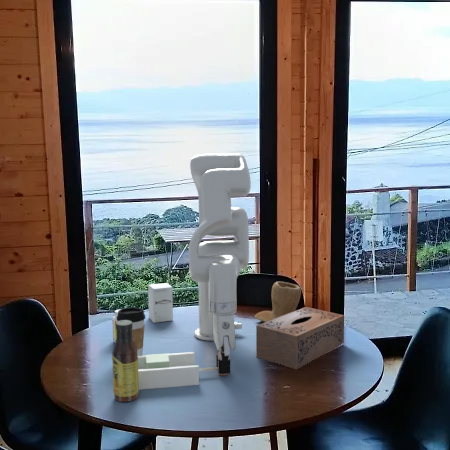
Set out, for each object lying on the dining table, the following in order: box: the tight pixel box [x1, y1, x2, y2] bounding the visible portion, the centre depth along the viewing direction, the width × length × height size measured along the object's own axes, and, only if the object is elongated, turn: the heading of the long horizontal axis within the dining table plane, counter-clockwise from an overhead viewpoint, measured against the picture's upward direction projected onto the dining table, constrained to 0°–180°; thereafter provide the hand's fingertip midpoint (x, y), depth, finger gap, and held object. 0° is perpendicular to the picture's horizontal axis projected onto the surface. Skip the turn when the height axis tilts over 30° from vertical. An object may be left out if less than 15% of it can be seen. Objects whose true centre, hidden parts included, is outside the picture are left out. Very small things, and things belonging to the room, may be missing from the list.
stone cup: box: [254, 281, 302, 323], centre depth 201 cm, size 15×12×15 cm
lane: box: [138, 351, 200, 391], centre depth 155 cm, size 18×11×6 cm, turn 100°
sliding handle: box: [145, 351, 228, 376], centre depth 156 cm, size 22×6×6 cm, turn 100°
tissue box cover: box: [255, 306, 345, 370], centre depth 175 cm, size 26×14×10 cm, turn 138°
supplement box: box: [147, 282, 174, 324], centre depth 208 cm, size 7×7×13 cm
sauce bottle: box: [111, 320, 140, 403], centre depth 143 cm, size 7×6×20 cm
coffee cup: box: [117, 307, 146, 356], centre depth 169 cm, size 8×8×15 cm
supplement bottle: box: [112, 308, 122, 344], centre depth 185 cm, size 6×6×10 cm
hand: (223, 370), depth 158 cm, fingers closed on sliding handle, 2 cm apart
